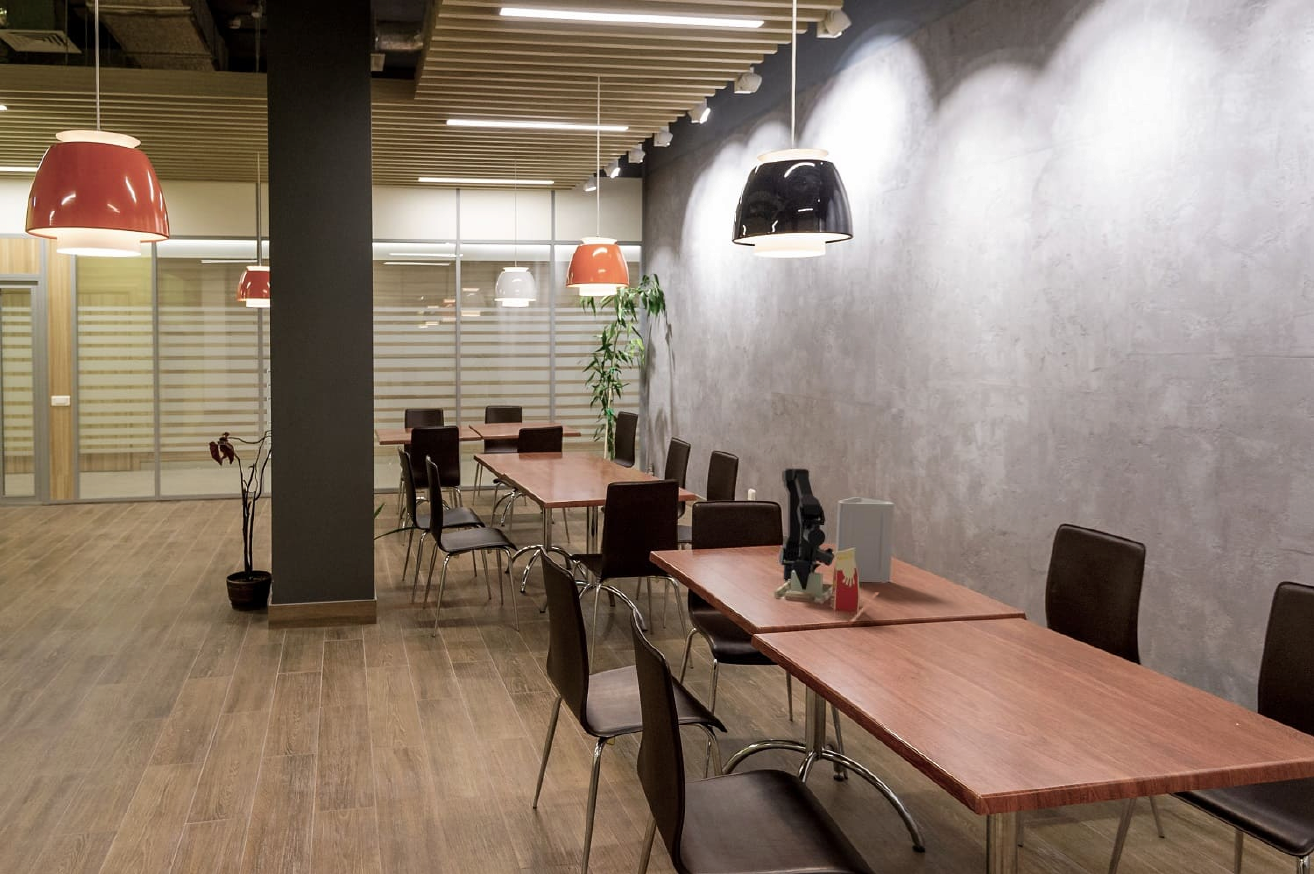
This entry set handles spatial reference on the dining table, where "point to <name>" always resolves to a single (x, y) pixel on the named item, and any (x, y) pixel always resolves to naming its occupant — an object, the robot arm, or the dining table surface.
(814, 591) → the sheet
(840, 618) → the dining table surface
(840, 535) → the grey tall prism
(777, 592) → the rack
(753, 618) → the dining table surface
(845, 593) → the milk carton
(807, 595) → the offcut
